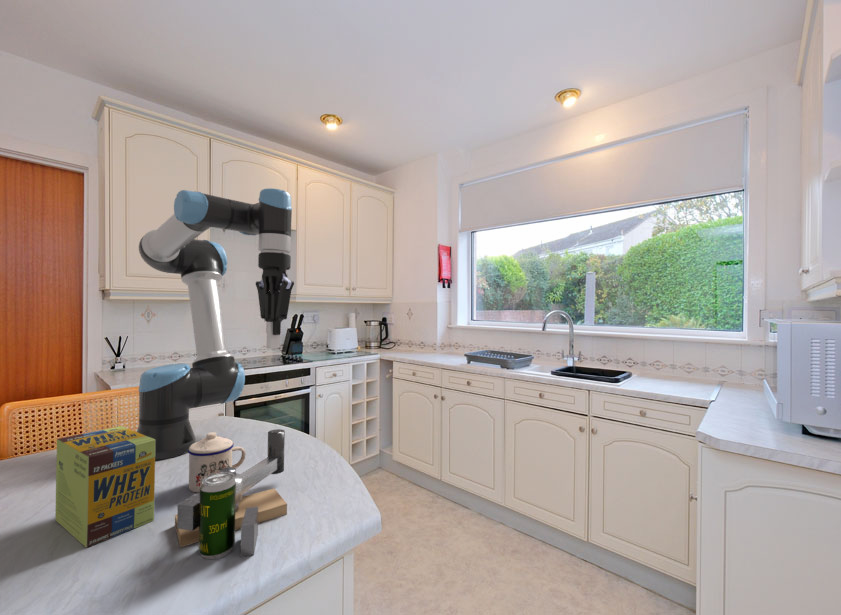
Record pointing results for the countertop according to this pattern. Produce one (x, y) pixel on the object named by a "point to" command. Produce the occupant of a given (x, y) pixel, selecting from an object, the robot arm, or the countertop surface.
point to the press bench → (267, 506)
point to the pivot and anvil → (247, 524)
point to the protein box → (104, 483)
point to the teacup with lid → (210, 458)
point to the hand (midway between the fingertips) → (273, 347)
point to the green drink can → (217, 515)
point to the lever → (239, 480)
